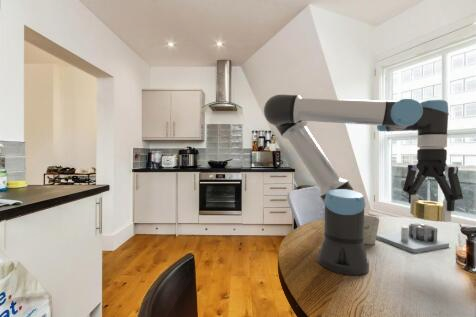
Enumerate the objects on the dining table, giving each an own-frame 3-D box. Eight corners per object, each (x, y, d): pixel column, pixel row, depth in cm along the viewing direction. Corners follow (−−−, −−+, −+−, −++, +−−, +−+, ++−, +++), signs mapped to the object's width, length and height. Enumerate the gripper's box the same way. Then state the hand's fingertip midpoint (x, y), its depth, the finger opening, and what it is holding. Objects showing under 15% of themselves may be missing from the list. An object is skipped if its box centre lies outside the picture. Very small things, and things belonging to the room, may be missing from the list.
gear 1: (435, 222, 73) (435, 206, 73) (405, 215, 81) (406, 200, 81) (454, 220, 76) (455, 204, 76) (424, 213, 84) (424, 199, 84)
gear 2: (427, 243, 93) (427, 228, 93) (403, 235, 102) (403, 222, 102) (442, 241, 96) (443, 226, 96) (418, 233, 105) (418, 220, 105)
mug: (381, 246, 93) (382, 221, 93) (347, 243, 96) (348, 218, 95) (374, 239, 101) (374, 215, 101) (342, 236, 104) (343, 213, 104)
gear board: (413, 253, 87) (414, 234, 87) (375, 238, 102) (375, 222, 102) (448, 247, 94) (449, 229, 94) (407, 234, 109) (408, 218, 109)
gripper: (481, 148, 69) (478, 225, 69) (406, 149, 90) (404, 209, 90) (465, 147, 67) (462, 227, 67) (392, 148, 87) (390, 210, 88)
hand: (429, 217), depth 78 cm, fingers closed on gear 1, 9 cm apart
